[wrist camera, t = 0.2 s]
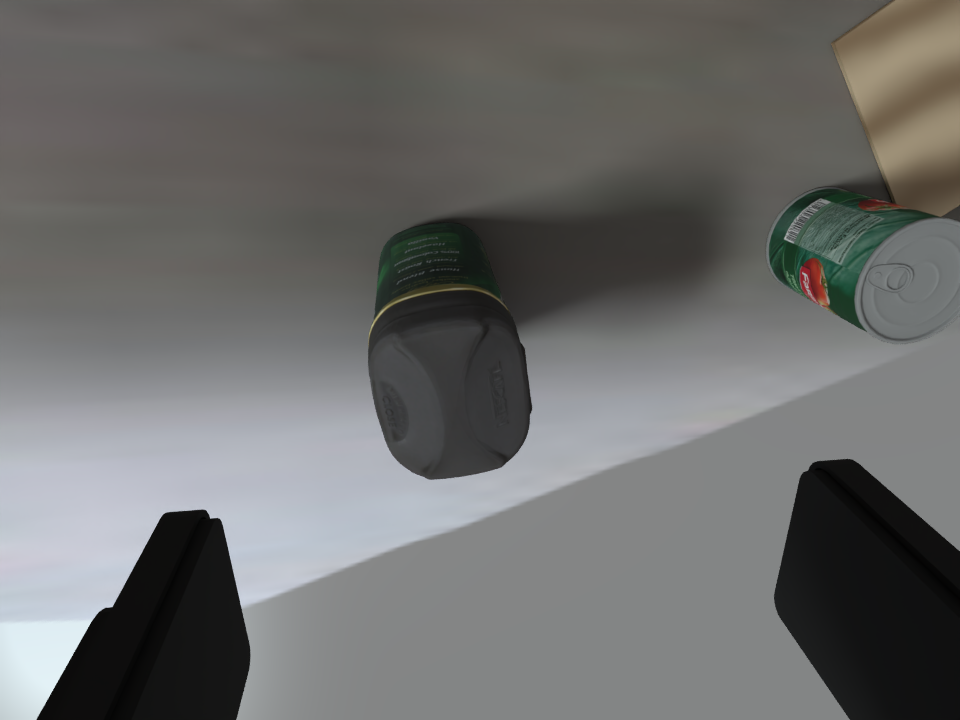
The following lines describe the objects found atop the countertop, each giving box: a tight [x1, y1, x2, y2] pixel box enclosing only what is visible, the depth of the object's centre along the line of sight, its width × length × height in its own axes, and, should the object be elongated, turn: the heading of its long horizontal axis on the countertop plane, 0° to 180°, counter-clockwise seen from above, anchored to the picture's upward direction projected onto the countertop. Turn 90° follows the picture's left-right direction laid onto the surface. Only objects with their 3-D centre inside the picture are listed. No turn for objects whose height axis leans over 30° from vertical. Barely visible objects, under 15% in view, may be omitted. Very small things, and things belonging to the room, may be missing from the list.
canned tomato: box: [766, 187, 960, 344], centre depth 44 cm, size 8×8×11 cm
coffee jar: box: [368, 223, 532, 480], centre depth 39 cm, size 10×8×19 cm
